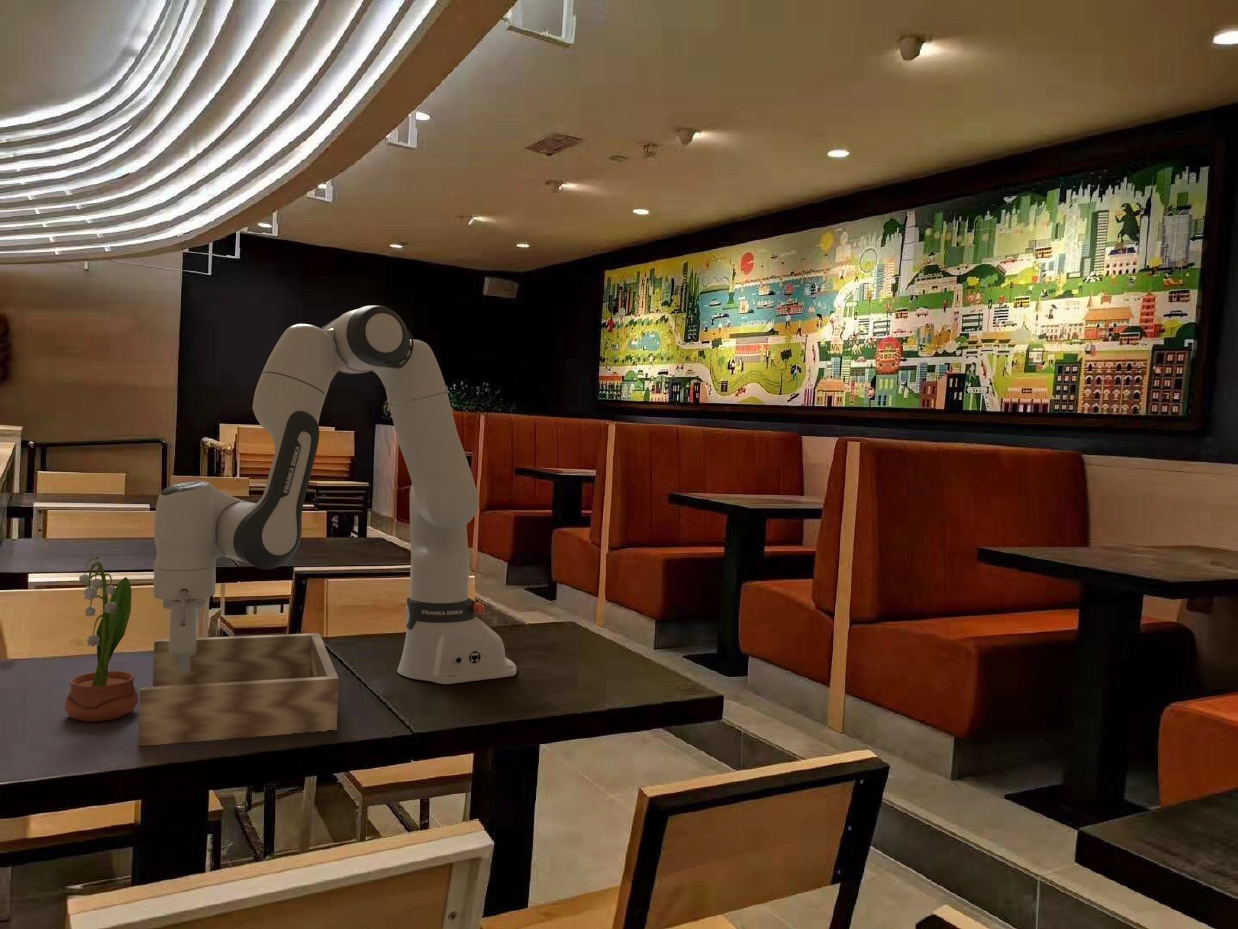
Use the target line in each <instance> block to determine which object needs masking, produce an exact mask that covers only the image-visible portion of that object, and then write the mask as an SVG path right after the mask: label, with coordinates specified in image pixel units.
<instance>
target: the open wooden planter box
mask: <svg viewBox="0 0 1238 929" xmlns="http://www.w3.org/2000/svg"><path fill="white" fill-rule="evenodd" d="M153 643H154V644H153V672H152V686H141V687H140V689H139V703H138V704H139V707H138V708H139V710H138V736H137V737H138V738H137V739H138V741H137V747H143V746H144V747H145V746H146V745H147V746H157V745H169V744H181V743H195V742H205V741H206V742H209V741H218V740H219V741H220V740H230V739H231V740H233V739H243V738H244V739H245V738H256V737H258V736H259V737H268V736H269V737H270V736H279V735H280V736H282V735H283V736H284V735H295V734H294V733H296V734H305V732H309V733H317V732H316V731H318V732H319V731H321V732H328V731H327V730H334V731H337V729H338V706H339V704H338V703H339V702H338V701H339V681H340V680H339V679H340V678H339V677H338V674H337V671H336V669H335V667H334V665H333V662H332V660H331V657H330V655H329V653H328V650H327V648H326V645H325V643H324V641H323V639H322V637H321V634H320V633H319V632H318V633H317V632H313V633H312V632H311V633H290V634H289V633H288V634H287V633H286V634H267V635H265V634H264V635H263V634H262V635H238V636H211V637H197V647H196V653H195V655H193V656H191V666H190V672H189V673H183V674H180V673H178V662H177V657H171V656H170V653H169V638H165V639H164V638H163V639H159V638H158V639H154V642H153ZM292 733H293V734H292ZM147 746H146V747H147Z"/></svg>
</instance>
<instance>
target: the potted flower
mask: <svg viewBox="0 0 1238 929" xmlns="http://www.w3.org/2000/svg"><path fill="white" fill-rule="evenodd" d="M98 559H99V556H94V557H92V558H90V559H89V560H88V561H86V564H85V569H86V571H85V573H83V574H81V575H80V576H79V578H78V579H79V580H78V581H77V583H80V584H85V585H86V588H85V589H84V591H83V595H84V598H83V599H84V600H88V601H90V602H89V606H88V607H86V609H85V610H84V611H85V615H84V616H85V617H87V616H88V617H92V616H96V608H95V607H94V606H92V602H93V600H94V599H97V598H99V599H101V600H102V613H101V614H99V615H98V616H97V618H96V619H95V622H94V625H93V626H94V627H93V631H92V634H90V635H89V636H88V637H87V638H86V639H87V645H86V646H87V647H91V648H92V647H96V656H97V658H96V659H97V665H96V669H95V671H93V672H88V673H84V674H80V675H78V676H74V677H72V678H71V680H70V681H69V685H70V692H69V693H68V695H67V697H66V698H65V701H64V702H65V704H64V707H63V709H64V711H65V712H66V714H67V715H68V716H69V717H71V718H73V719H74V720H79V721H83V722H103V721H110V720H114V719H119V718H121V717H124V716H126V715H127V714H128V715H129V714H130V713H131V712H133V711H134V710H135V708H136V706H138V704H139V703H140V699H139V694H138V691H137V689H136V688H135V686H134V681H135V677H136V676H135V675H134V674H133V673H131V672H127V671H121V670H109V668H108V667H109V664H110V661H111V660H112V657H113V654H114V652H115V650H116V649H117V647H118V646H119V643H121V641H122V639H123V638H124V636H125V633H126V631H127V626H128V623H129V620H130V619H129V618H130V616H131V613H132V612H131V611H132V584H131V582H130V580H129V578H128V577H127V576H125V577H123V578H122V579H121V580H119V581H118V583H117V585H116V587H115V586H114V585H113V578H112V575H111V574H110V573H105V570H104V567H103V565H102V563H101V562H100V561H95V562H93V563H91V567H87V566H88V564H89V563H90V562H91V561H92V560H98ZM96 566H98V567H97V569H96V571H95V572H94V573H93V571H94V568H96ZM88 570H89V573H88ZM87 573H88V574H87ZM97 576H100V578H101V579H100V578H97ZM106 576H109V579H110V584H109V585H108V584H107V578H106ZM94 577H95V578H94ZM93 578H94V579H93ZM99 590H102V595H99V594H97V593H98V591H99ZM108 595H110V599H109V598H108V597H109V596H108ZM108 599H109V600H108ZM100 618H101V619H100ZM99 619H100V622H99V624H98V627H97V626H96V625H97V623H98V620H99ZM96 627H97V630H96V632H95V629H96ZM95 633H96V634H95Z"/></svg>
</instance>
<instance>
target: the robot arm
mask: <svg viewBox="0 0 1238 929" xmlns="http://www.w3.org/2000/svg"><path fill="white" fill-rule="evenodd" d="M413 336H414V335H412V333H411V332H410V331H409V330H408V327H407V325H406V323H405V321H403V319H402V318H401V316H400V315H399V314H398V313H396V312H395V310H393V309H391V308H390V307H386V306H382V305H375V304H373V305H365V306H362V307H360V308H357V309H353V310H350V311H349V310H348V311H347V312H345V313H343V314H341V315H340V316H339V317H338V318H335V319H333V320H330V321H329V322H328V323H326V324H325V325H324V326H322V327H318V326H316V325H313V324H310V323H309V324H307V323H297V324H294V325H293V324H292V325H291V326H289V327H288V328H286V330H285V331H283V333H282V335H281V336H280V337H279V340H278V341H277V342H276V344H275V346H274V348H273V349H272V351H271V353H270V355H269V356H268V359H267V361H266V363H265V365H264V366H263V370H262V372H261V374H260V377H259V380H258V382H257V384H256V387H255V392H254V395H253V399H252V400H253V402H252V410H253V411H252V412H253V414H254V416H255V418H256V420H257V422H258V423H259V425H260V426H261V427H262V428H263V429H264V430H265V432H268V434H269V435H270V437H271V438H272V440H273V444H274V455H273V458H272V464H271V467H270V470H269V474H268V477H267V481H266V485H265V487H264V491H263V494H262V497H261V498H260V499H259V500H258V501H257V502H252V501H247V500H243V499H240V498H237V497H234V496H232V495H229V494H227V493H225V492H223V491H221V490H219V489H218V488H216V487H215V486H213V485H212V483H210V482H208V481H205V480H193V481H183V482H178V483H175V484H171V485H169V486H168V487H165V488H164V489H163V490H161V492H159V495H158V497H157V500H156V505H155V506H156V507H155V513H154V514H155V515H154V527H153V528H154V529H153V530H154V532H153V534H154V535H153V540H154V544H155V547H156V557H155V561H154V563H153V597H154V598H155V599H158V600H162V608H163V609H167V610H170V611H169V638H168V639H169V653H170V656H171V657H177V662H178V673H180V674H183V673H189V672H190V666H191V656H193V655H195V653H196V647H197V638H198V627H199V622H200V616H201V609H202V608H203V607H205V606H206V605H207V603H208V602H207V599H208V598H210V597H213V596H214V595H216V579H217V578H216V572H217V570H216V569H217V567H216V566H217V564H216V563H217V560H218V558H221V557H225V558H229V559H232V560H234V561H239V562H243V563H246V564H248V565H250V566H252V567H255V568H257V569H261V570H273V569H276V568H280V567H281V566H283V565H285V564H286V563H287V562H288V561H290V560H291V559H292V558H293V556H294V555H295V554H296V552H297V551H298V549H299V546H300V544H301V540H302V532H303V531H302V529H303V528H302V524H303V523H302V522H303V521H302V518H303V506H304V504H305V503H304V502H305V499H306V495H307V491H308V487H309V484H310V478H311V476H312V472H313V468H314V464H315V460H316V456H317V450H318V447H319V441H320V427H319V422H320V417H321V413H322V408H323V406H324V403H325V399H326V398H327V394H328V392H329V391H328V390H329V388H330V384H331V382H332V381H333V379H334V378H335V376H336V374H337V375H340V376H342V375H343V376H354V375H357V374H364V373H370V372H373V373H375V374H376V375H377V376H378V378H379V379H380V381H381V382H382V385H383V387H384V388H385V395H386V397H387V403H388V407H389V411H390V414H391V417H392V418H391V419H392V422H393V427H394V430H395V433H396V438H397V442H398V445H399V449H400V451H401V454H402V456H403V460H404V462H405V466H406V467H407V471H408V474H409V475H408V476H409V478H410V480H411V485H410V489H409V536H410V537H409V541H410V571H409V572H410V578H409V596H408V597H407V598H406V599H407V600H406V605H405V627H406V634H405V639H404V645H403V650H402V655H401V657H400V661H399V664H398V666H397V667H398V668H397V673H398V674H399V675H401V676H403V677H406V678H409V679H414V680H419V681H427V682H428V681H429V682H431V683H432V682H433V683H436V684H439V685H441V684H442V685H450V684H459V683H467V682H474V681H482V680H483V681H484V680H491V679H499V678H507V677H513V676H515V675H516V674H517V665H516V664H515V663H514V661H512V660H511V659H509V658H508V657H506V651H505V645H504V642H503V639H502V638H501V636H500V635H499V634H498V633H497V632H495V631H494V630H493V629H492V628H490V626H488V625H487V624H485V623H484V622H483V621H482V620H481V619H480V618H478V617H477V615H482V614H484V612H485V610H486V607H485V606H484V604H483V603H481V602H478V601H475V600H474V599H472V598H470V597H469V584H470V583H469V582H470V564H471V563H470V560H471V559H470V557H471V556H470V552H469V551H470V550H469V544H468V543H469V542H468V530H467V529H468V527H467V526H468V525H467V524H468V523H469V522H471V521H472V520H473V518H474V517H475V516H476V514H477V512H478V509H479V506H480V497H479V494H478V493H479V492H478V489H477V487H476V484H475V480H474V476H473V473H472V470H471V466H470V465H469V462H468V459H467V455H466V453H465V452H466V451H464V448H463V445H462V442H461V439H460V435H459V433H458V430H457V425H456V422H455V419H454V418H455V417H454V414H453V410H452V406H451V403H450V398H449V394H448V390H447V386H446V383H445V379H444V377H443V373H442V371H441V368H440V366H439V363H438V361H437V358H436V356H435V354H434V351H433V350H432V348H431V347H430V345H429V344H428V343H427V342H425V341H423V340H421V339H414V337H413Z"/></svg>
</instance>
